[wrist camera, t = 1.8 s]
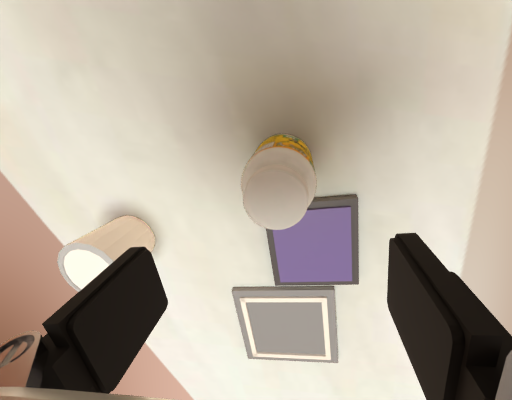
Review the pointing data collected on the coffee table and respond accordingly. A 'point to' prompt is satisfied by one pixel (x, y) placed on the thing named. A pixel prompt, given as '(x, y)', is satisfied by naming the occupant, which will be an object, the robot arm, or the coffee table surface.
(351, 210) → the ink pad
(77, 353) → the robot arm
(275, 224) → the supplement bottle
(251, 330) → the grey square tile
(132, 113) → the coffee table surface
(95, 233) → the white short cylinder
